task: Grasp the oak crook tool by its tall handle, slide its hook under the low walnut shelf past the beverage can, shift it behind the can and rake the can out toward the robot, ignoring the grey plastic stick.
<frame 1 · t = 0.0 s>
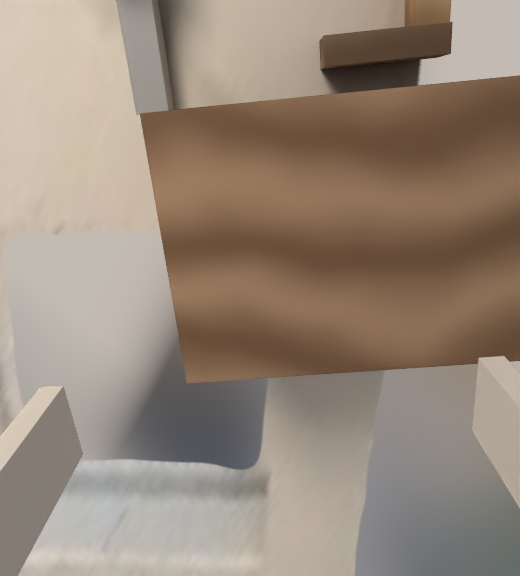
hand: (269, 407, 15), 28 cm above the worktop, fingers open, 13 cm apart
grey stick: (144, 15, 35), on the worktop
shelf: (328, 196, 40), on the worktop
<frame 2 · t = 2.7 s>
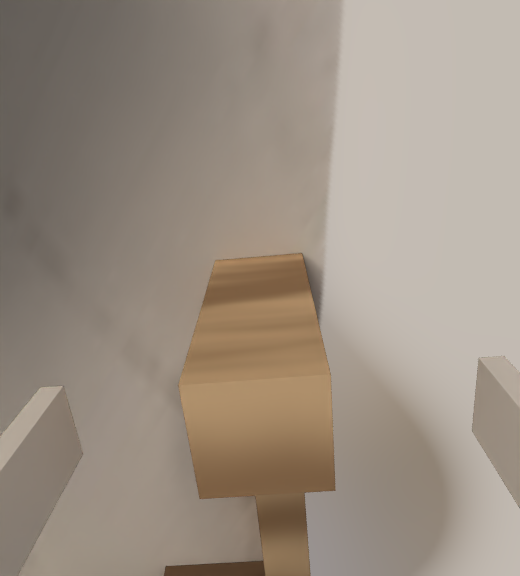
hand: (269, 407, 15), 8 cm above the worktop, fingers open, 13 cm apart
crook tool: (262, 296, 22), on the worktop
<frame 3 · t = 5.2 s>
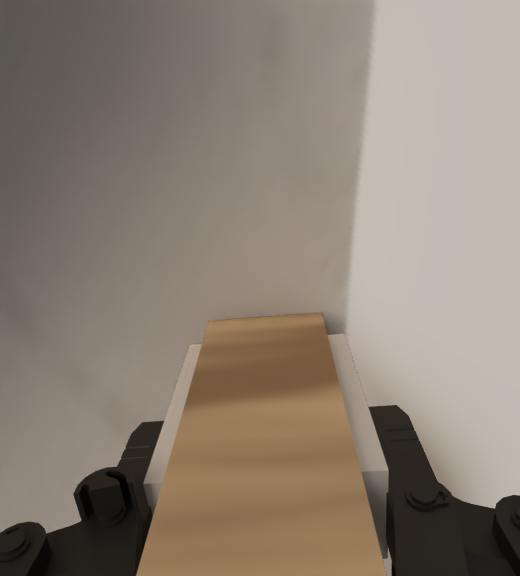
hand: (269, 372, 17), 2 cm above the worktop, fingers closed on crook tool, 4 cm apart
crook tool: (269, 366, 17), point 1 cm above the worktop, touching gripper
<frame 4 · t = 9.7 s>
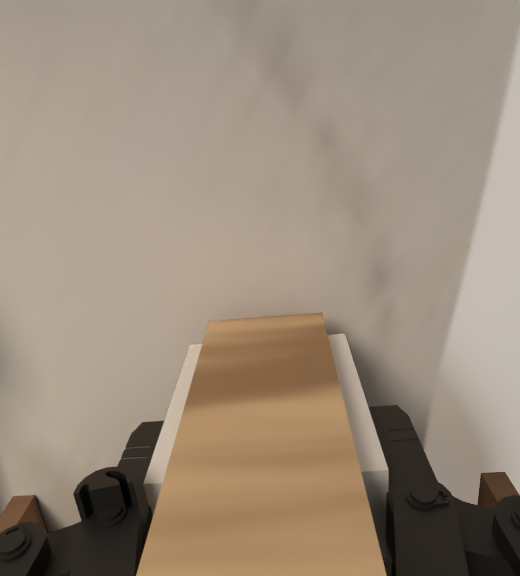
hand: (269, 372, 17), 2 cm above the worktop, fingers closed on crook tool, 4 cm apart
crook tool: (269, 366, 17), point 1 cm above the worktop, touching gripper
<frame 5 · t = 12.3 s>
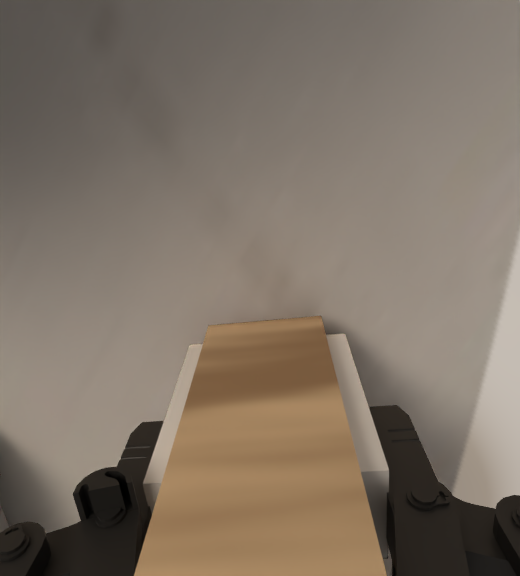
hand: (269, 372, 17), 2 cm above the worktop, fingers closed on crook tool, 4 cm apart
crook tool: (269, 370, 17), point 1 cm above the worktop, touching beverage can, gripper
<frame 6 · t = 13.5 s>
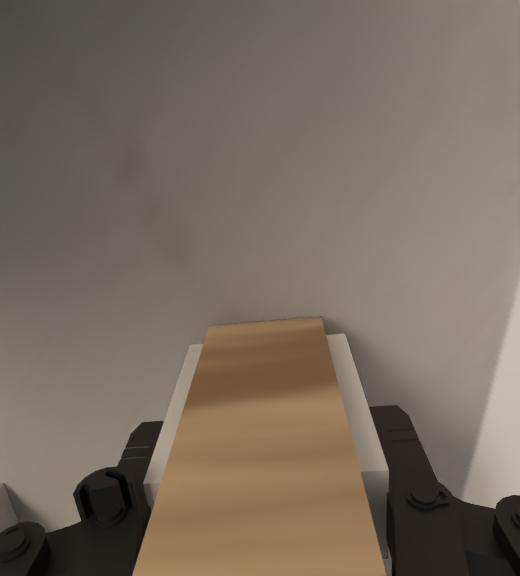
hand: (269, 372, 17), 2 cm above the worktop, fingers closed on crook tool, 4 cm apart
crook tool: (270, 370, 17), point 1 cm above the worktop, touching beverage can, gripper
when the fingers open (2 cm above the worktop, at t = 14.5 s): crook tool drops 1 cm, on the worktop.
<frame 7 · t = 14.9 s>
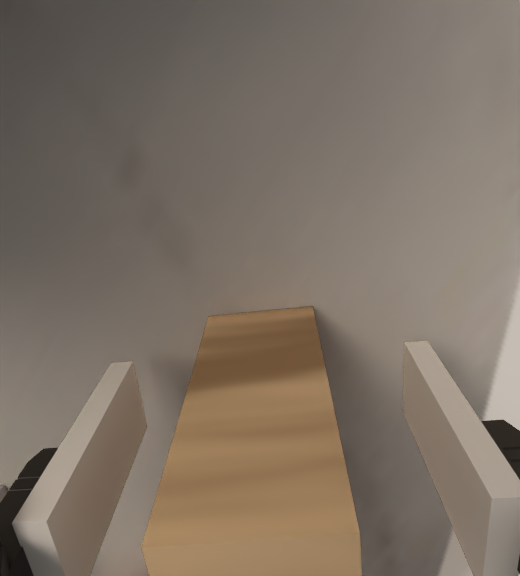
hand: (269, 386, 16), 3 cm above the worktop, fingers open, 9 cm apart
crook tool: (266, 356, 18), on the worktop
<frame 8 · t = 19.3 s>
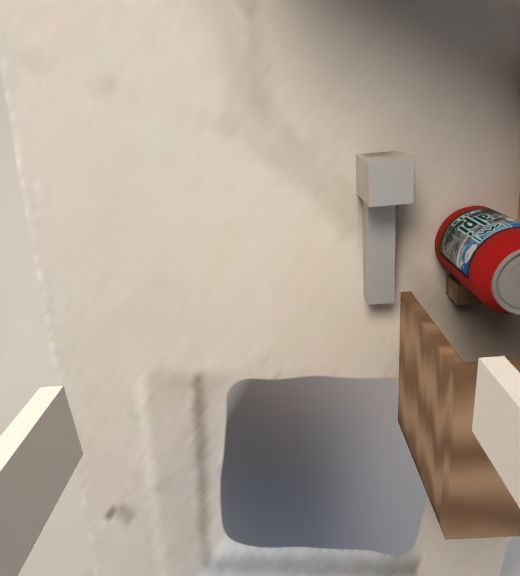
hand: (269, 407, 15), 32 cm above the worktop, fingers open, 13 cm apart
beverage can: (466, 237, 45), on the worktop
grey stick: (375, 227, 45), on the worktop
shelf: (503, 353, 50), on the worktop
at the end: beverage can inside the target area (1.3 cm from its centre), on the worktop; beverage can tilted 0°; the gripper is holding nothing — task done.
